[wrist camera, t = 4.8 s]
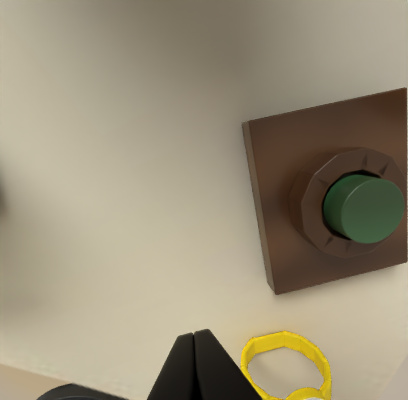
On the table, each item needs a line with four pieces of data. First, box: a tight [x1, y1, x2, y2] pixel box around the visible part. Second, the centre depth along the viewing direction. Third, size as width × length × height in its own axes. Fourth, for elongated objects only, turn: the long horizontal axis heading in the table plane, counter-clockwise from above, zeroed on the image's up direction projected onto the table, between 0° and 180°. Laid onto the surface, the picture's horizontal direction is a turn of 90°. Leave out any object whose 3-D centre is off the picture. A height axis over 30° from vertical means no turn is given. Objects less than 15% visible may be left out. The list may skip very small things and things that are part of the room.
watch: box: [241, 331, 332, 400], centre depth 17 cm, size 6×3×6 cm, turn 96°
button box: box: [242, 88, 408, 295], centre depth 16 cm, size 12×10×4 cm
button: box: [324, 175, 404, 244], centre depth 14 cm, size 4×4×2 cm
